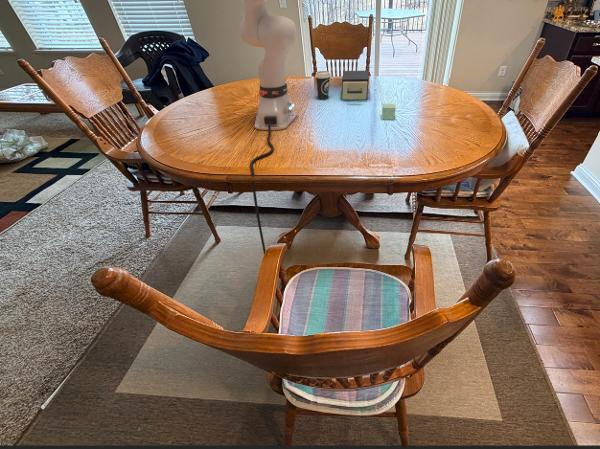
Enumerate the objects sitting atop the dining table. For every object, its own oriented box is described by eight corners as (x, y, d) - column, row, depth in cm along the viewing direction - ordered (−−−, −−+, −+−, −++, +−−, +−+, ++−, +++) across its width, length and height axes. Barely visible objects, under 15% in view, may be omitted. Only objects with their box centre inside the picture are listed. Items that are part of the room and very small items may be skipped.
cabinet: (367, 99, 150) (368, 78, 144) (341, 99, 152) (341, 79, 146) (366, 90, 161) (368, 70, 155) (342, 90, 163) (343, 70, 157)
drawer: (366, 102, 145) (367, 85, 139) (341, 102, 146) (342, 85, 141) (365, 90, 158) (367, 74, 153) (343, 90, 160) (344, 74, 155)
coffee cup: (328, 94, 159) (329, 69, 152) (331, 99, 154) (332, 73, 146) (314, 96, 159) (313, 71, 151) (316, 100, 153) (316, 75, 145)
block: (394, 119, 130) (395, 108, 127) (382, 119, 131) (383, 108, 127) (393, 115, 134) (394, 103, 130) (381, 115, 134) (382, 103, 131)
